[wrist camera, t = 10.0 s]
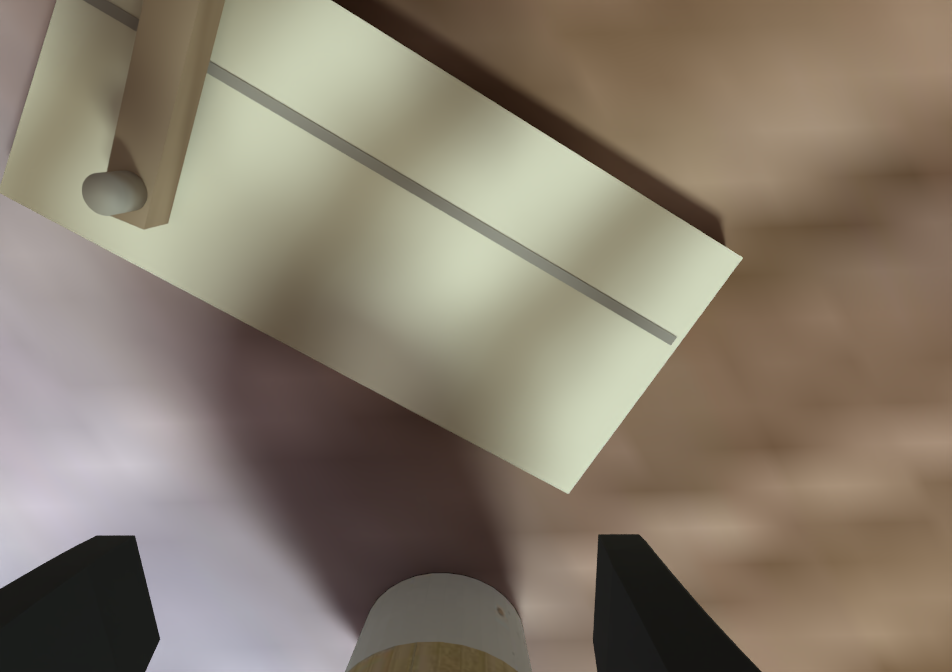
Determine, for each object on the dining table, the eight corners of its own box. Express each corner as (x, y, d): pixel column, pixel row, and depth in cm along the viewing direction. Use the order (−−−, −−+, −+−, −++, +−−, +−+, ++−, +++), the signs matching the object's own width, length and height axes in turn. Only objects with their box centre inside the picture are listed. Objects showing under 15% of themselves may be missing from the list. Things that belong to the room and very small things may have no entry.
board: (726, 250, 18) (743, 258, 17) (563, 474, 20) (568, 494, 19) (130, -123, 15) (99, -145, 14) (30, 188, 18) (-3, 192, 16)
